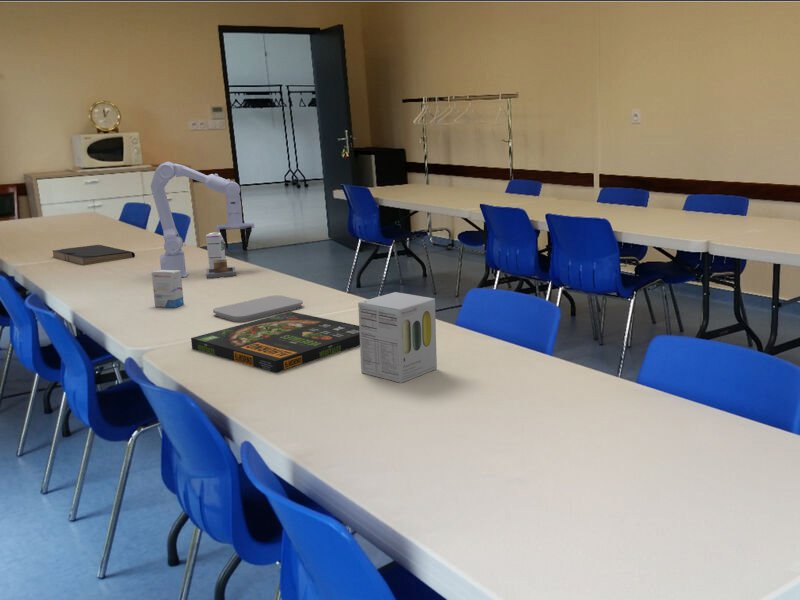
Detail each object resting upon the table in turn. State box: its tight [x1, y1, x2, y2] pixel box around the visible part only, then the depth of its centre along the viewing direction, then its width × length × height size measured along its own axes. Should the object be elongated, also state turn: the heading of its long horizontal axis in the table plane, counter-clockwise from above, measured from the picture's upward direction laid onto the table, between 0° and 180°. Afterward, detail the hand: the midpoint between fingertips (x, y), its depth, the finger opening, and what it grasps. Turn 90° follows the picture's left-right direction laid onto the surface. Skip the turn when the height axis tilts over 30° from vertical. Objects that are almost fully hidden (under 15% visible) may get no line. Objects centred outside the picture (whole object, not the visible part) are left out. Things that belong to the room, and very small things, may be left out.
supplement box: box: [357, 291, 438, 384], centre depth 192 cm, size 13×13×18 cm
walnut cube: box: [213, 259, 228, 273], centre depth 317 cm, size 5×5×5 cm
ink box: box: [151, 269, 185, 308], centre depth 268 cm, size 9×5×12 cm, turn 71°
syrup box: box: [205, 231, 227, 269], centre depth 331 cm, size 6×6×14 cm
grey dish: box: [206, 266, 237, 279], centre depth 318 cm, size 11×11×2 cm
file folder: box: [52, 244, 136, 266], centre depth 369 cm, size 33×4×24 cm
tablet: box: [212, 294, 303, 323], centre depth 258 cm, size 16×26×2 cm, turn 135°
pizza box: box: [190, 311, 360, 374], centre depth 220 cm, size 35×35×4 cm
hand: (237, 247), depth 320 cm, fingers open, 7 cm apart
